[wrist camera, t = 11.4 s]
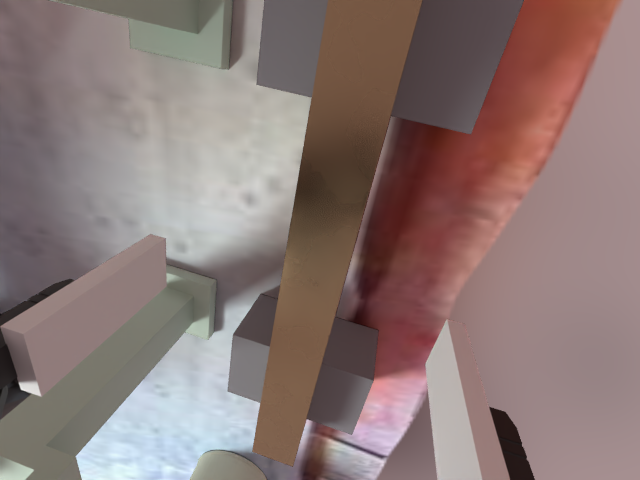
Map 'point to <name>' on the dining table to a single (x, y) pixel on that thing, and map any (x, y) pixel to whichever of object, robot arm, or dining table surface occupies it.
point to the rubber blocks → (411, 103)
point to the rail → (330, 201)
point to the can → (225, 467)
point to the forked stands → (157, 315)
